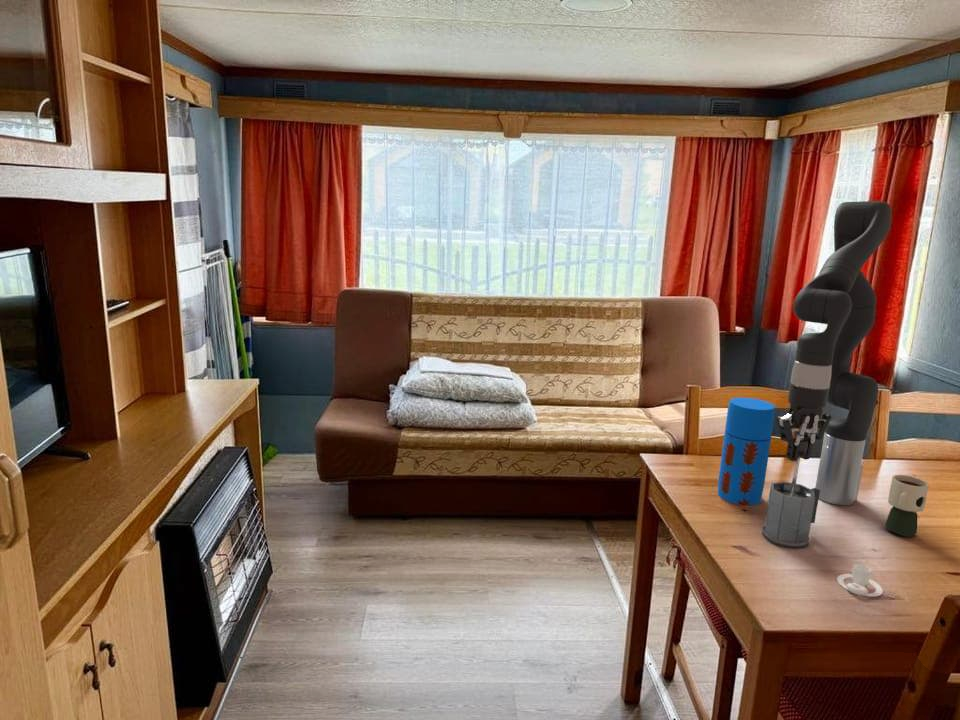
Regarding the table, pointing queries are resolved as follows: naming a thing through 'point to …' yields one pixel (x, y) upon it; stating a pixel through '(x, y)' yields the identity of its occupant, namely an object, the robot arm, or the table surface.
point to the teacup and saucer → (860, 581)
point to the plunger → (802, 451)
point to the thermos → (745, 450)
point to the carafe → (790, 515)
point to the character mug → (906, 504)
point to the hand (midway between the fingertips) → (797, 458)
